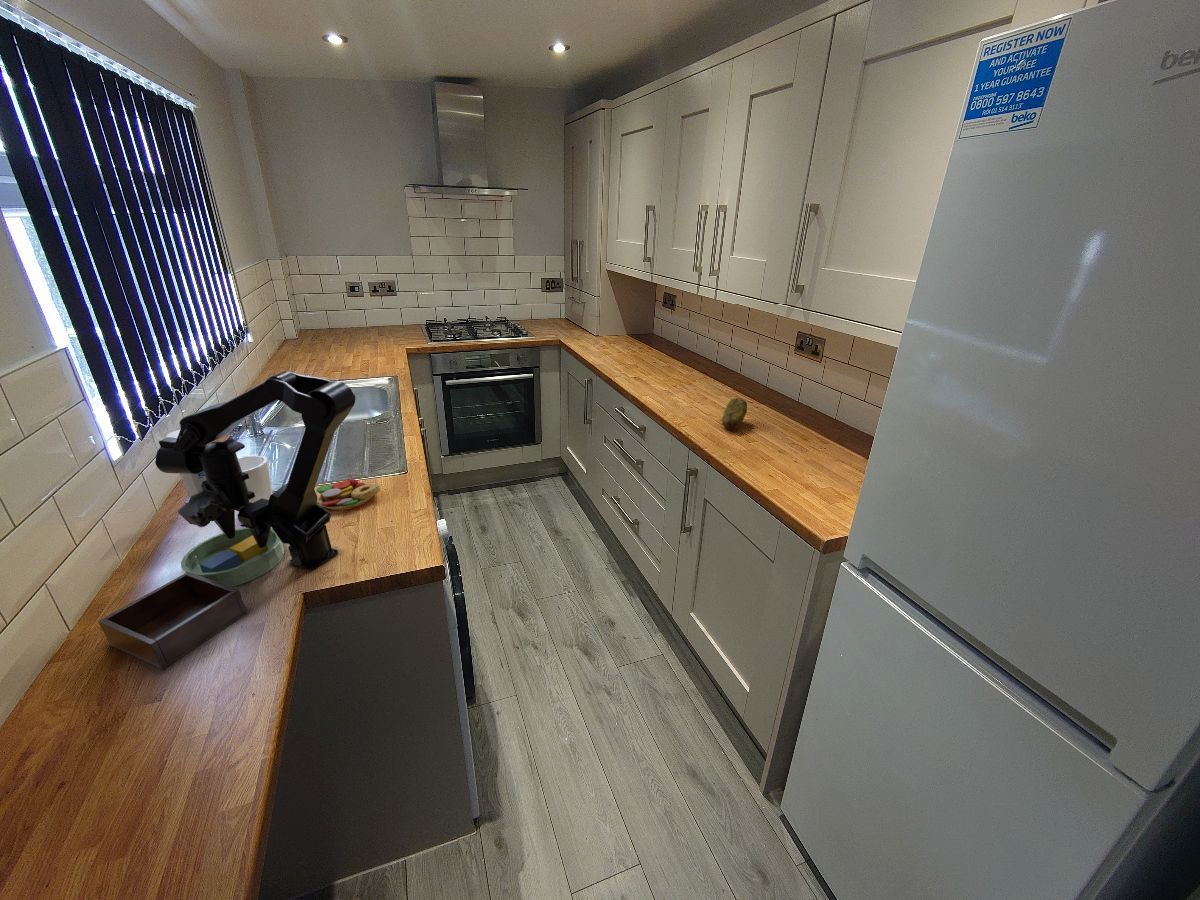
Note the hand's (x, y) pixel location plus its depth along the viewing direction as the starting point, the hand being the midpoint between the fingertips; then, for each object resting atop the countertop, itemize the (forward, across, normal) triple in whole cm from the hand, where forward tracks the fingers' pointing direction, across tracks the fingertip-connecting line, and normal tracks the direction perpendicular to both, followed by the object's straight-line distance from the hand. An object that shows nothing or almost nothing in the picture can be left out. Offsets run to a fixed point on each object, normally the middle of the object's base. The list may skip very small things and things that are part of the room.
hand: (247, 542), depth 106 cm
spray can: (+3, -26, +9) cm, 28 cm away
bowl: (+3, 0, -3) cm, 4 cm away
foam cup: (+3, -14, +12) cm, 19 cm away
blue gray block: (+3, 0, -6) cm, 6 cm away
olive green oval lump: (+4, +79, +108) cm, 134 cm away
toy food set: (+3, 0, +25) cm, 25 cm away
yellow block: (+3, 0, 0) cm, 3 cm away
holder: (+3, +9, -19) cm, 21 cm away
